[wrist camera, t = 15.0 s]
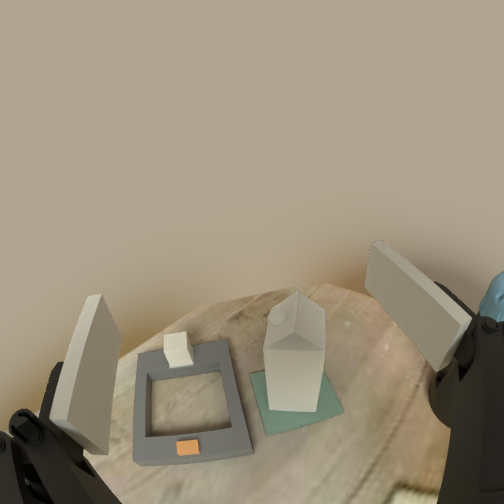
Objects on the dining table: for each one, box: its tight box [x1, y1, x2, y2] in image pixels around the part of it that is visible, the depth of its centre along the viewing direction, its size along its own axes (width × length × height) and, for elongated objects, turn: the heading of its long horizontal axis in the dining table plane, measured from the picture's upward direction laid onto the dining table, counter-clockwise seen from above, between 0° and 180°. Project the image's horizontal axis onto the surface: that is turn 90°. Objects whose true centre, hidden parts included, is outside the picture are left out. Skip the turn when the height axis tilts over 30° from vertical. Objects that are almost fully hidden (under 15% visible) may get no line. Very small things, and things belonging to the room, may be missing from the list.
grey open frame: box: [133, 332, 254, 466], centre depth 38 cm, size 17×22×7 cm
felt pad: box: [250, 370, 344, 436], centre depth 40 cm, size 12×12×1 cm
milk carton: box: [263, 284, 326, 412], centre depth 35 cm, size 7×7×19 cm
